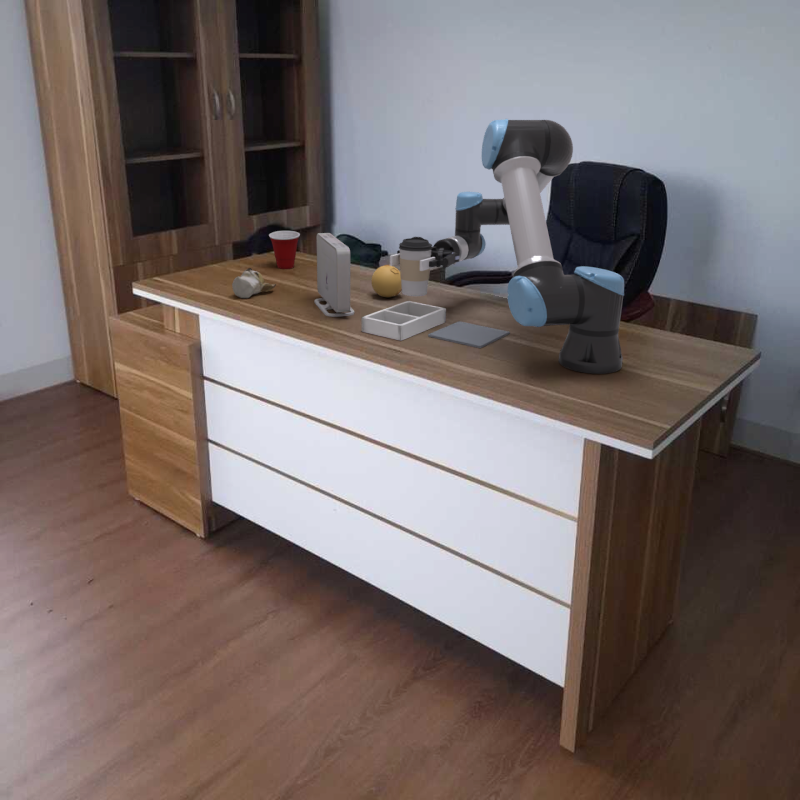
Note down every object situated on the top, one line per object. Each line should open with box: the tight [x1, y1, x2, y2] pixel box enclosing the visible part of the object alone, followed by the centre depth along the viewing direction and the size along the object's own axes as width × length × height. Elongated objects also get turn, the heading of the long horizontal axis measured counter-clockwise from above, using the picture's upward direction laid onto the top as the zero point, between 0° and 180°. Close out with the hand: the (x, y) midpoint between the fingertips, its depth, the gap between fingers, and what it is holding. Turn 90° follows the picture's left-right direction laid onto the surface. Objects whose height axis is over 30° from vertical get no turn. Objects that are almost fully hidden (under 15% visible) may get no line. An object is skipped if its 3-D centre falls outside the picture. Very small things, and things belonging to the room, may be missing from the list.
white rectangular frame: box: [361, 300, 447, 341], centre depth 225 cm, size 13×22×4 cm, turn 145°
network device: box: [314, 232, 355, 318], centre depth 239 cm, size 26×9×20 cm, turn 18°
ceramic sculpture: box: [231, 267, 277, 299], centre depth 254 cm, size 11×9×15 cm
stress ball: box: [371, 264, 402, 298], centre depth 254 cm, size 10×10×10 cm
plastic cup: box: [268, 230, 301, 270], centre depth 289 cm, size 11×11×12 cm
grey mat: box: [427, 320, 511, 349], centre depth 220 cm, size 16×16×1 cm
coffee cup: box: [398, 236, 433, 297], centre depth 224 cm, size 9×9×15 cm
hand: (405, 263), depth 220 cm, fingers closed on coffee cup, 9 cm apart
